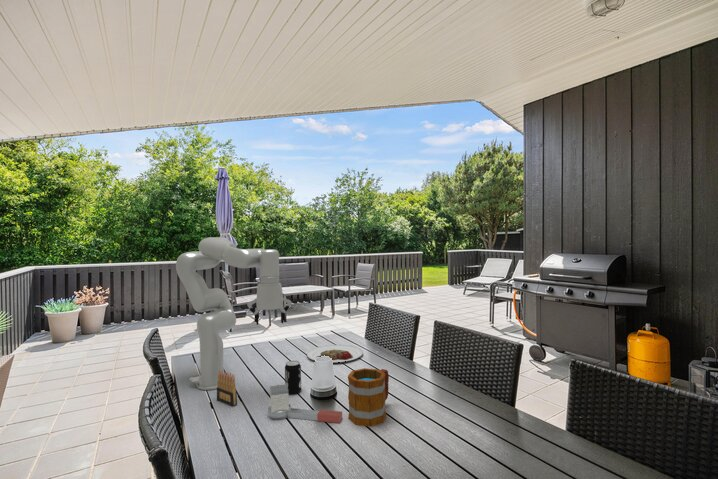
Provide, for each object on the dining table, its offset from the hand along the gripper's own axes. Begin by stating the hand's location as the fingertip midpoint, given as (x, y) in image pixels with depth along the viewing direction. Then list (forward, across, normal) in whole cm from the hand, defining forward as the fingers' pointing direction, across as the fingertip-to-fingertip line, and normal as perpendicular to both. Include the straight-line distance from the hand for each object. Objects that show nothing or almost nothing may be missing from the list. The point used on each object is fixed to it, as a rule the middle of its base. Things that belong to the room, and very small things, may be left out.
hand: (269, 323), depth 151 cm
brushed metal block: (+27, +2, -16) cm, 32 cm away
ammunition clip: (+30, -17, +1) cm, 35 cm away
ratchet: (+30, +11, -21) cm, 38 cm away
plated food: (+30, +36, +44) cm, 65 cm away
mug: (+30, +35, -26) cm, 52 cm away
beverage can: (+30, +9, +3) cm, 32 cm away
